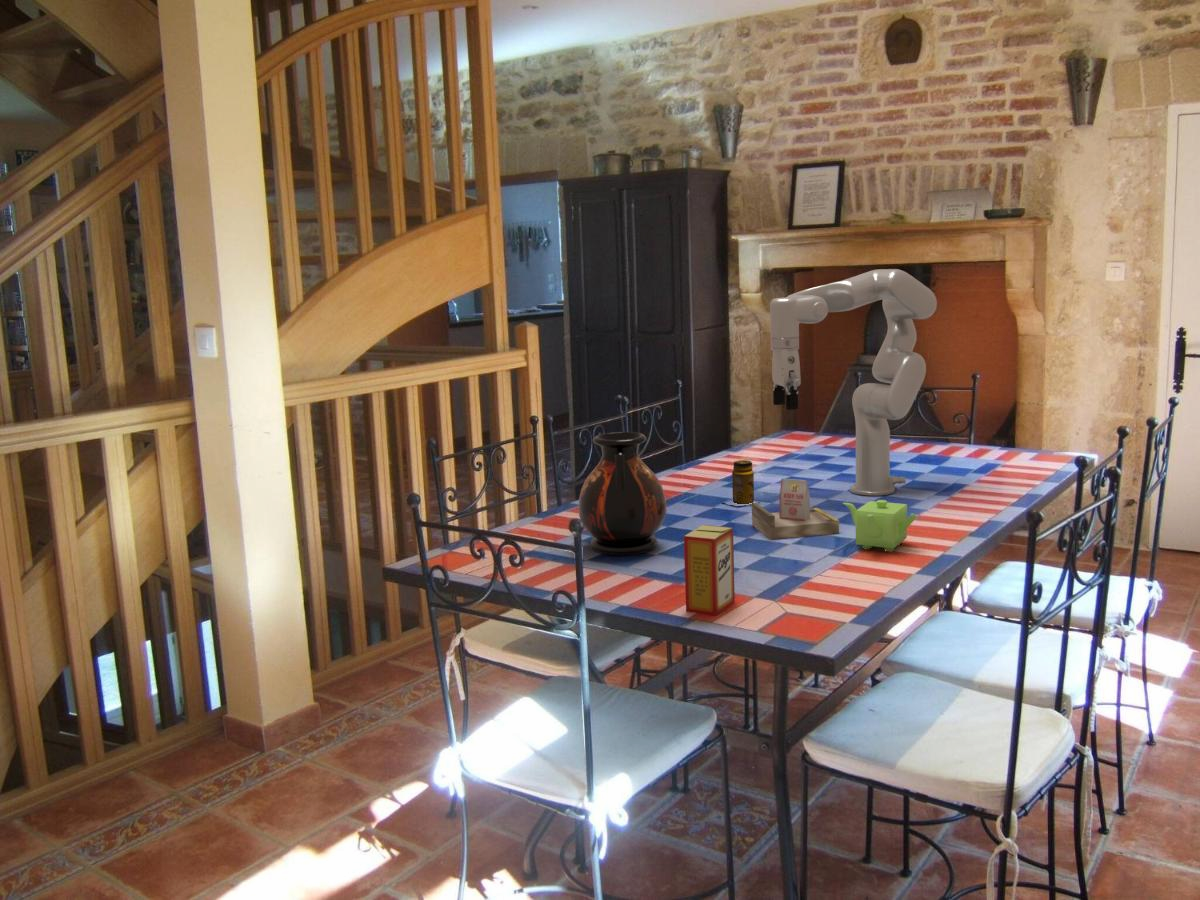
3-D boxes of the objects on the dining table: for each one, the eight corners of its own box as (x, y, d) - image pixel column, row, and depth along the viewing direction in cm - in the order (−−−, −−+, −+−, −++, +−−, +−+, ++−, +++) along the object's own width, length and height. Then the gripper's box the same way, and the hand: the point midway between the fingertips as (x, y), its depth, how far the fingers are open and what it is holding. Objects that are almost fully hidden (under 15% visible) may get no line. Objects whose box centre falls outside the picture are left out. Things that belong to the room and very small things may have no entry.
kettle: (867, 558, 239) (867, 510, 237) (838, 542, 253) (838, 497, 251) (925, 550, 243) (926, 503, 241) (893, 536, 256) (893, 491, 254)
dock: (817, 519, 274) (817, 497, 273) (838, 533, 261) (838, 509, 260) (752, 525, 271) (751, 503, 270) (770, 539, 258) (770, 516, 257)
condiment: (760, 503, 296) (759, 461, 294) (737, 508, 291) (737, 466, 289) (743, 498, 302) (742, 458, 300) (721, 503, 297) (720, 462, 295)
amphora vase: (582, 537, 268) (577, 430, 262) (666, 534, 267) (662, 426, 262) (578, 561, 246) (572, 445, 241) (669, 558, 246) (665, 442, 240)
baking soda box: (715, 615, 206) (714, 537, 203) (686, 611, 209) (683, 534, 206) (734, 601, 214) (733, 525, 211) (705, 597, 217) (703, 522, 214)
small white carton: (784, 515, 269) (784, 477, 267) (810, 517, 266) (809, 479, 264) (779, 518, 266) (779, 480, 264) (804, 520, 262) (804, 482, 261)
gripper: (810, 345, 272) (810, 410, 276) (786, 341, 289) (787, 402, 292) (782, 347, 271) (783, 412, 274) (760, 342, 288) (761, 403, 291)
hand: (785, 406), depth 283 cm, fingers open, 9 cm apart
